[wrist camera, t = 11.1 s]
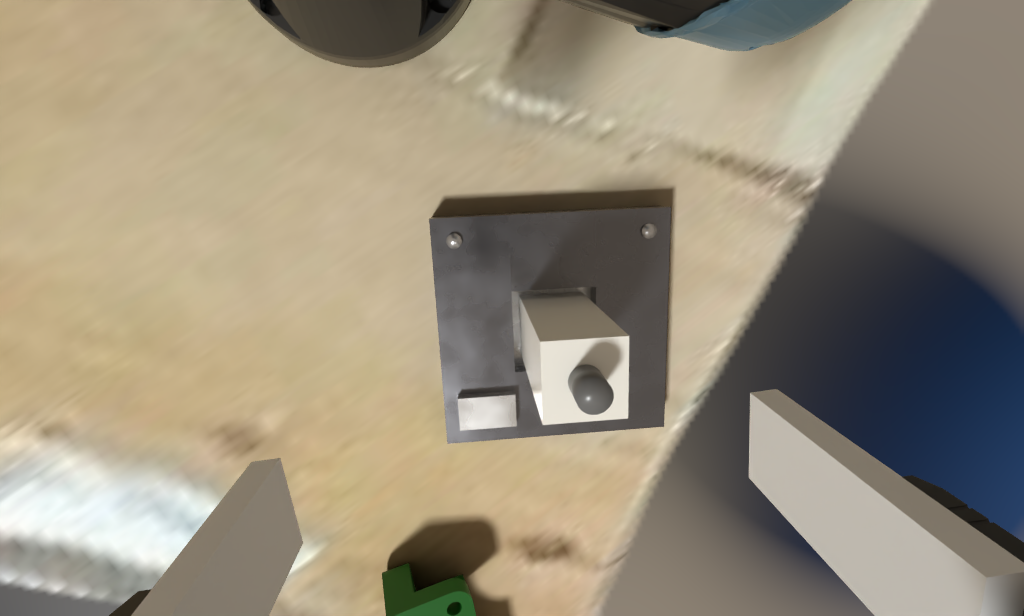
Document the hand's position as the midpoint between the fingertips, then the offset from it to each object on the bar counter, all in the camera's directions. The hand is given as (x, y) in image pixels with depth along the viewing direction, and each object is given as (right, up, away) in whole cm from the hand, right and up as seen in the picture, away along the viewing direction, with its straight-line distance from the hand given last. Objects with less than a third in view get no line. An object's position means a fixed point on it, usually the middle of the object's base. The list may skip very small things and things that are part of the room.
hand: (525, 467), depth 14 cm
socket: (+2, +3, +22) cm, 23 cm away
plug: (+2, +3, +22) cm, 22 cm away
